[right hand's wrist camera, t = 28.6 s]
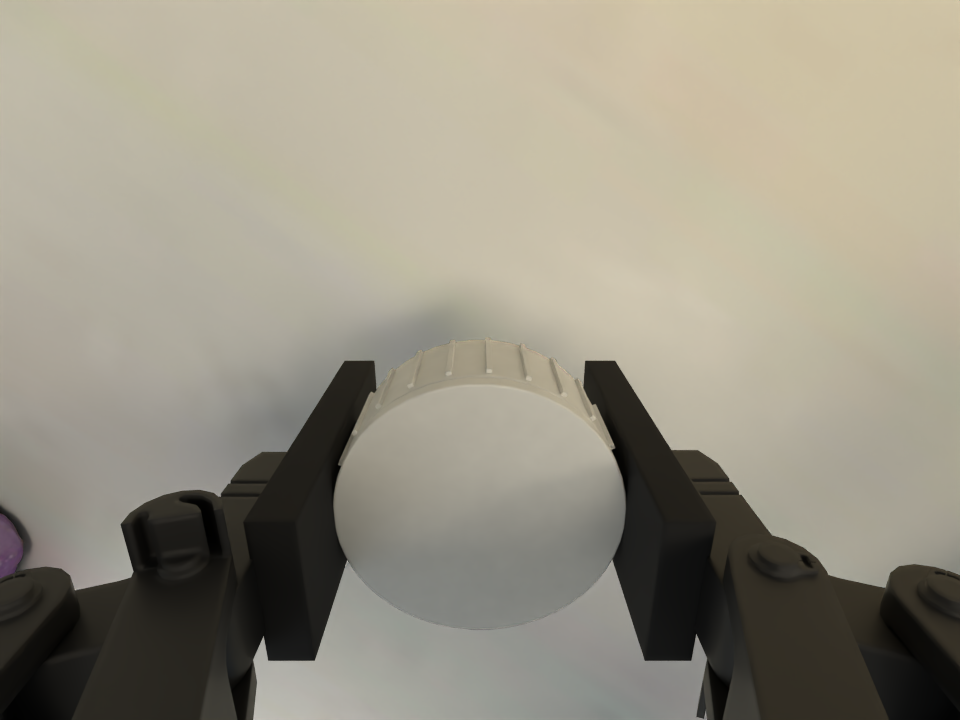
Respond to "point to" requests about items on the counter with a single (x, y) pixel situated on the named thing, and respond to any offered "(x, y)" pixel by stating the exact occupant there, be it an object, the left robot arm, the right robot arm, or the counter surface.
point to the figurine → (9, 547)
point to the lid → (479, 488)
